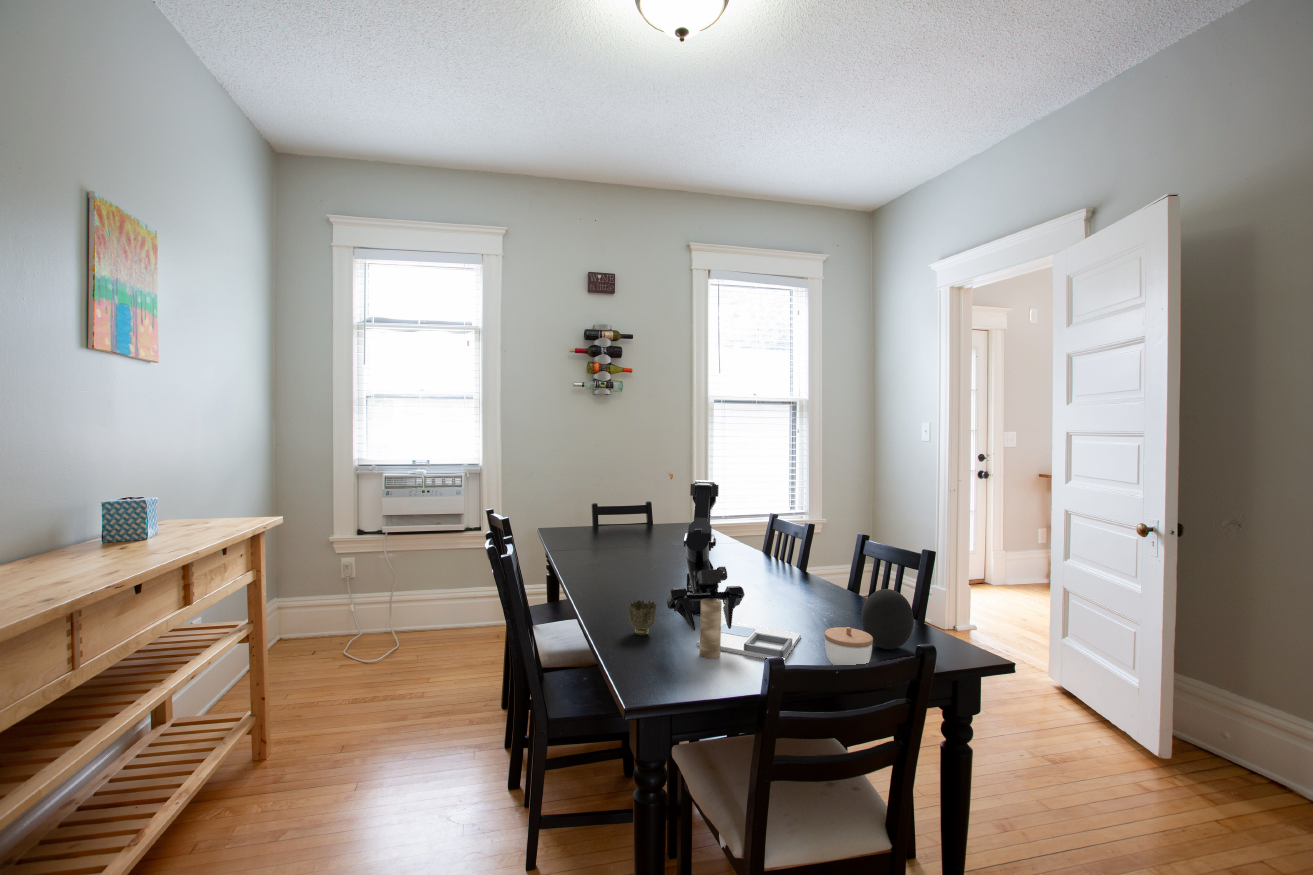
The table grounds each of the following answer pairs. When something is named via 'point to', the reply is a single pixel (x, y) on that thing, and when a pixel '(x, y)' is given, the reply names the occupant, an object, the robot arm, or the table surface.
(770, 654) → the base plate
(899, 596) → the decorative egg
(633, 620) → the cup
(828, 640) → the lidded jar
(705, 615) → the maple post
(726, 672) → the table surface
